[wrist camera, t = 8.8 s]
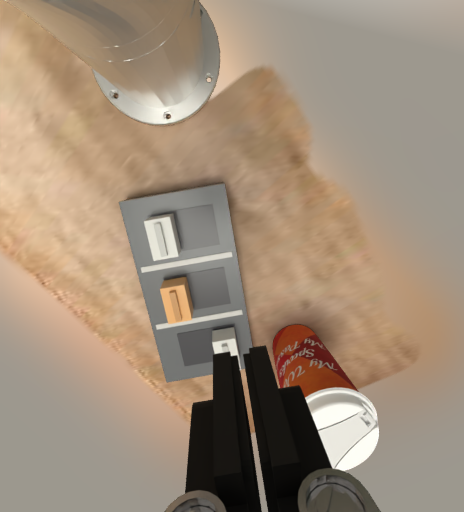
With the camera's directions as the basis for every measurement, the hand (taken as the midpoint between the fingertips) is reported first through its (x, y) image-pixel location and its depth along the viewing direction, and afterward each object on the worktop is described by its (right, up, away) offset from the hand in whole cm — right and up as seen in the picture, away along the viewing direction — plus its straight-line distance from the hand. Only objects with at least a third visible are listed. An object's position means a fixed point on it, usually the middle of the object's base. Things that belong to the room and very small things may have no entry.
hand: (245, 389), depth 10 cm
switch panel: (-5, +1, +28) cm, 29 cm away
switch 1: (-7, +6, +23) cm, 25 cm away
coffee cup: (+8, -7, +32) cm, 33 cm away
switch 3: (-1, -6, +27) cm, 28 cm away
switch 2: (-6, 0, +25) cm, 26 cm away
